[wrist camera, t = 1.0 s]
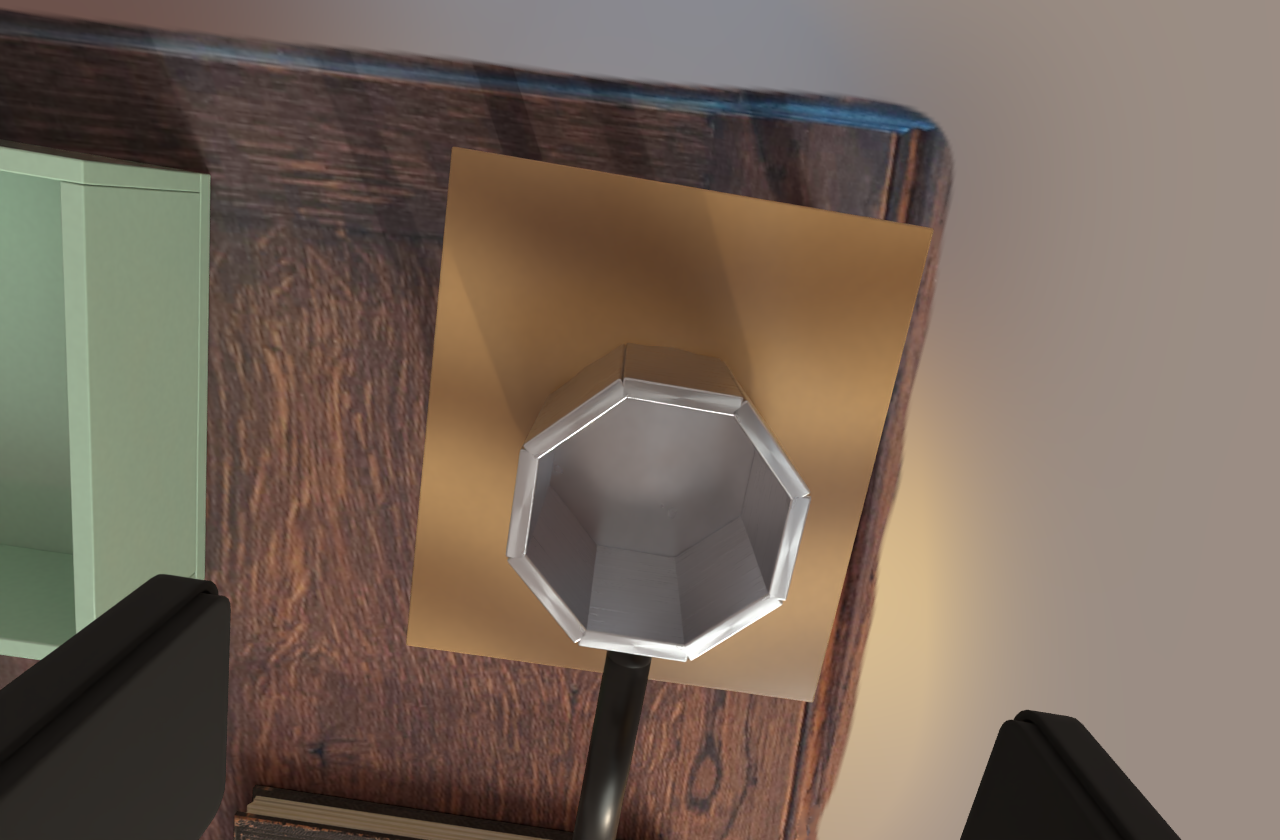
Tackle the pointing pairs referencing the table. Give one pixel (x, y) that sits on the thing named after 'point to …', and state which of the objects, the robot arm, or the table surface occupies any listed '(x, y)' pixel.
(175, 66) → the table surface
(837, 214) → the stand
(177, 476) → the basin
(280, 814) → the hardcover book
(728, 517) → the saucepan
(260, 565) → the table surface
